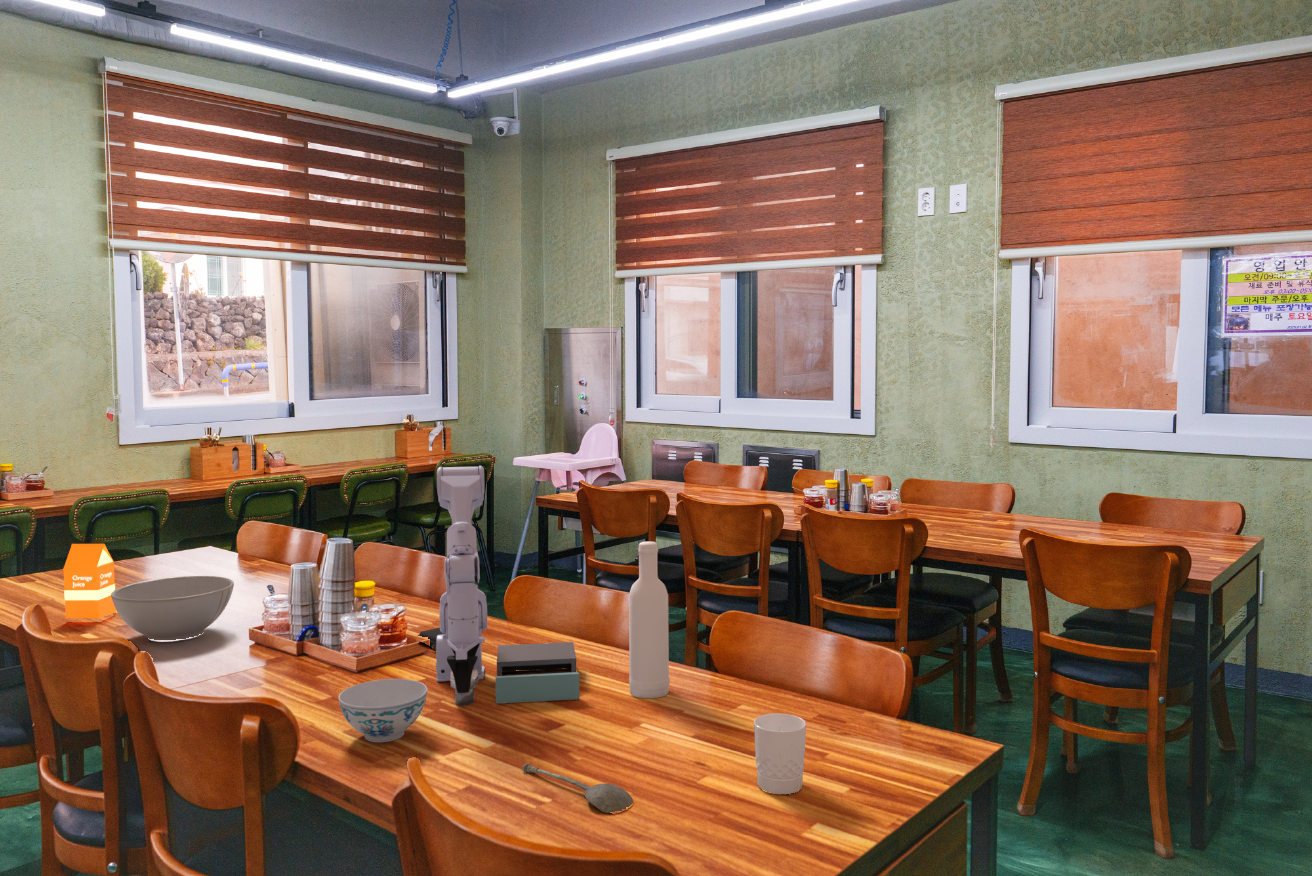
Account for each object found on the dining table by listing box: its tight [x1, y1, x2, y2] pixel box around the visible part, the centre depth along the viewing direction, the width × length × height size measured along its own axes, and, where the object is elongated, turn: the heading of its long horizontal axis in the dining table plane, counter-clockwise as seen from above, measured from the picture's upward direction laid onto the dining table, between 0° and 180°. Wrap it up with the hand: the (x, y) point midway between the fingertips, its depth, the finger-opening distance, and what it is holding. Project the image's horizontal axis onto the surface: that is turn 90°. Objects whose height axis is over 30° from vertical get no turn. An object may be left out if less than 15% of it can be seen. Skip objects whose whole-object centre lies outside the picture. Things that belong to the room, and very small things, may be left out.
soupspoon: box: [521, 762, 634, 814], centre depth 145 cm, size 22×3×7 cm
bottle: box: [628, 541, 670, 699], centre depth 188 cm, size 8×8×30 cm
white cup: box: [753, 712, 807, 795], centre depth 145 cm, size 8×8×10 cm
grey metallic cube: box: [454, 687, 475, 706], centre depth 184 cm, size 4×4×4 cm
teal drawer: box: [494, 671, 580, 705], centre depth 190 cm, size 16×12×5 cm
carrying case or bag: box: [417, 627, 446, 651], centre depth 224 cm, size 11×3×15 cm
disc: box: [450, 669, 479, 689], centre depth 184 cm, size 5×5×2 cm
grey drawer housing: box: [496, 641, 578, 676], centre depth 199 cm, size 16×12×6 cm
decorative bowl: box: [111, 575, 235, 640], centre depth 233 cm, size 27×27×12 cm
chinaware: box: [338, 678, 428, 743], centre depth 167 cm, size 15×15×8 cm
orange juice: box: [63, 543, 117, 619], centre depth 250 cm, size 8×9×20 cm
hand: (464, 685), depth 184 cm, fingers open, 7 cm apart
